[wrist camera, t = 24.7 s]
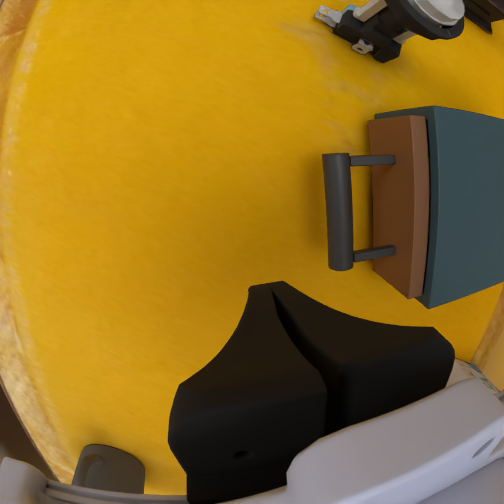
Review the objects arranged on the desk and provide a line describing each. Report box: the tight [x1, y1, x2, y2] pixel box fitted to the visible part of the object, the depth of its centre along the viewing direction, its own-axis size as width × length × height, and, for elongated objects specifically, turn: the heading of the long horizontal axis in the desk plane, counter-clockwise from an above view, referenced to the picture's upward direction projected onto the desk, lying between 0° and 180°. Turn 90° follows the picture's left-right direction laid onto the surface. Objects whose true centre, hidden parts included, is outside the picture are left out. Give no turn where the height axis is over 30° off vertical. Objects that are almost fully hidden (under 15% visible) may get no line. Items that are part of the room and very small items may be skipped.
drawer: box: [322, 115, 430, 299], centre depth 18 cm, size 18×11×5 cm, turn 97°
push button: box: [315, 0, 465, 63], centre depth 12 cm, size 7×5×10 cm
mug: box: [71, 445, 145, 494], centre depth 22 cm, size 14×9×12 cm
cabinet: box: [375, 106, 504, 309], centre depth 18 cm, size 15×13×7 cm
